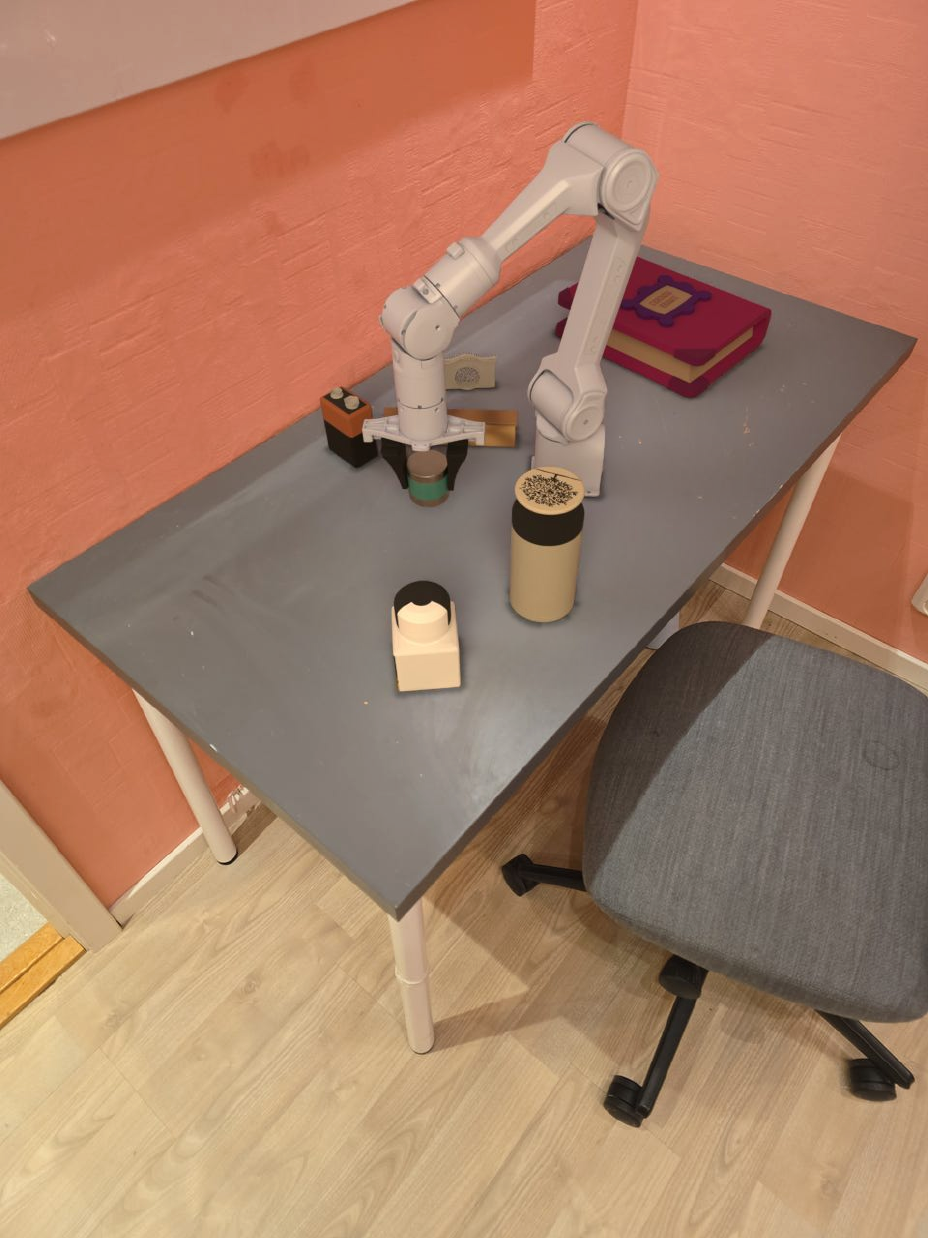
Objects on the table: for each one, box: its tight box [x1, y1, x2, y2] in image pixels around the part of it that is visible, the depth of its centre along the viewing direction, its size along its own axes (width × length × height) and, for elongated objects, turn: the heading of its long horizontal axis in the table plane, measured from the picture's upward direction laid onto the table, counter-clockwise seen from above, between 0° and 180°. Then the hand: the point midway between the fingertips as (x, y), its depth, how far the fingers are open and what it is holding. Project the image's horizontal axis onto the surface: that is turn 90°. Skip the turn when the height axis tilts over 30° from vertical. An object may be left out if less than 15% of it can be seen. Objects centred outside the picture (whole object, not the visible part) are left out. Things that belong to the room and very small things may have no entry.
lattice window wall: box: [444, 352, 498, 391], centre depth 131 cm, size 12×2×6 cm, turn 92°
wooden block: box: [382, 406, 519, 448], centre depth 123 cm, size 19×4×4 cm, turn 85°
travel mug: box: [509, 467, 585, 623], centre depth 97 cm, size 8×8×18 cm
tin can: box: [406, 449, 451, 508], centre depth 106 cm, size 5×5×5 cm
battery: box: [319, 385, 379, 469], centre depth 119 cm, size 4×7×10 cm, turn 43°
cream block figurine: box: [390, 580, 462, 692], centre depth 93 cm, size 7×7×12 cm
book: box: [555, 256, 773, 399], centre depth 137 cm, size 21×28×8 cm
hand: (428, 484), depth 106 cm, fingers closed on tin can, 5 cm apart
